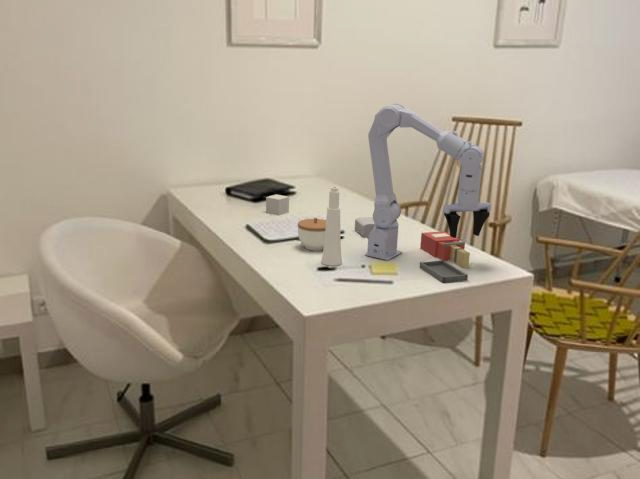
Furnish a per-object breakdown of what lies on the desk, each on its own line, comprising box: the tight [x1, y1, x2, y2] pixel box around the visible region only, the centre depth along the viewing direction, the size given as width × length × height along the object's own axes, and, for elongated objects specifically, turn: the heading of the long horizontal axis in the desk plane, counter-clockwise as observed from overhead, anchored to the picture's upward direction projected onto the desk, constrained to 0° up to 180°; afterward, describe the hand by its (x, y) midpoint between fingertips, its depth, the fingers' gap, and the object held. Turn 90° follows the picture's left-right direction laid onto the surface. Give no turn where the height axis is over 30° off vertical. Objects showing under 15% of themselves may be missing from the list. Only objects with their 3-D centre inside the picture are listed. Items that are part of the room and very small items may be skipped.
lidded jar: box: [297, 217, 326, 251], centre depth 200 cm, size 11×11×9 cm
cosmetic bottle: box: [320, 186, 343, 267], centre depth 185 cm, size 6×6×22 cm
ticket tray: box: [419, 259, 469, 284], centre depth 181 cm, size 13×8×2 cm, turn 20°
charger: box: [354, 216, 374, 239], centre depth 221 cm, size 5×9×15 cm
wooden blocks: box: [449, 245, 471, 268], centre depth 192 cm, size 10×2×4 cm, turn 20°
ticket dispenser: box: [420, 230, 466, 262], centre depth 199 cm, size 13×8×5 cm, turn 20°
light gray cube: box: [265, 194, 290, 216], centre depth 241 cm, size 6×6×6 cm
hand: (464, 236), depth 187 cm, fingers open, 7 cm apart
